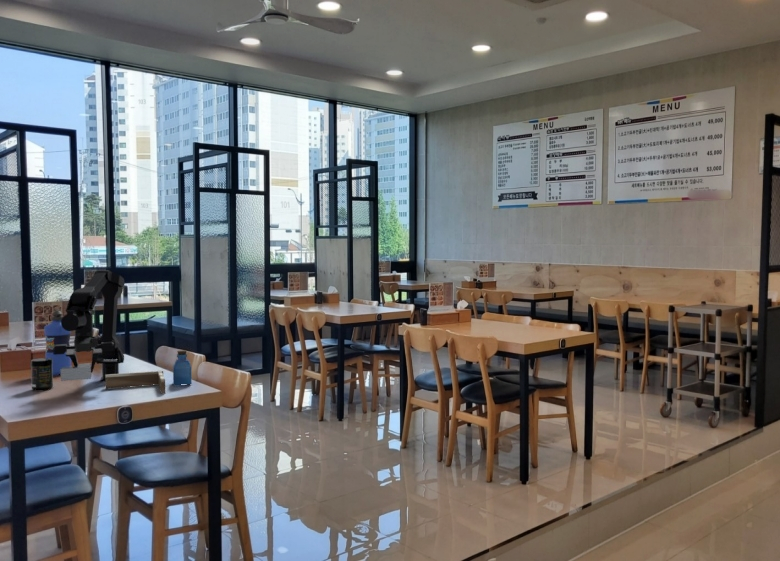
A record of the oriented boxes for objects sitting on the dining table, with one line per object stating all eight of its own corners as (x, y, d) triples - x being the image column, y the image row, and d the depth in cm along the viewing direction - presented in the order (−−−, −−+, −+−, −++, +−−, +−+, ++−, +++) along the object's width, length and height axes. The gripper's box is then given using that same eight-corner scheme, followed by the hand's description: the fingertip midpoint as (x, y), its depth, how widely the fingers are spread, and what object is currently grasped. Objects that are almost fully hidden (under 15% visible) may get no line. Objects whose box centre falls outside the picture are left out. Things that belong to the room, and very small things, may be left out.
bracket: (62, 376, 222) (62, 364, 222) (91, 374, 226) (91, 362, 226) (60, 381, 214) (60, 369, 214) (90, 378, 218) (90, 367, 217)
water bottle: (54, 376, 251) (53, 312, 250) (40, 374, 256) (38, 311, 255) (76, 372, 259) (75, 310, 258) (62, 370, 264) (61, 309, 263)
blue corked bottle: (191, 384, 233) (191, 351, 232) (173, 386, 231) (172, 352, 231) (191, 381, 239) (190, 349, 238) (173, 382, 237) (173, 350, 236)
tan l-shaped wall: (105, 388, 228) (105, 374, 227) (163, 383, 235) (163, 370, 235) (105, 398, 211) (104, 383, 211) (167, 393, 219) (167, 379, 218)
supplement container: (57, 388, 229) (56, 358, 228) (40, 391, 222) (39, 361, 222) (44, 386, 231) (43, 357, 231) (27, 390, 225) (26, 360, 225)
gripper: (51, 331, 211) (52, 379, 212) (113, 328, 219) (114, 374, 219) (54, 328, 221) (55, 373, 222) (113, 325, 229) (114, 369, 229)
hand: (84, 372), depth 223 cm, fingers closed on bracket, 4 cm apart
